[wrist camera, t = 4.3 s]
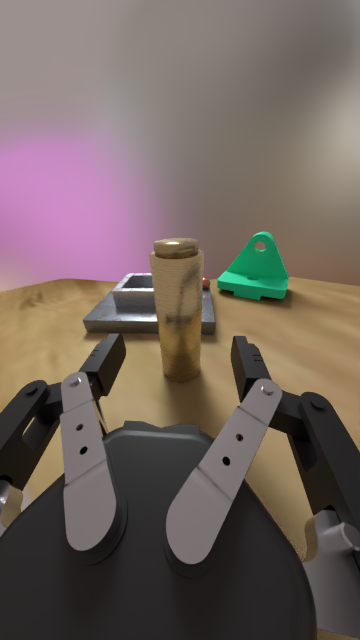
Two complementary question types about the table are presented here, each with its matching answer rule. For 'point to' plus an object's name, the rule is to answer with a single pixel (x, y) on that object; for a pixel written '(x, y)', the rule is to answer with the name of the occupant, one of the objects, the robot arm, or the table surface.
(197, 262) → the brass cylinder peg
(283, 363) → the table surface
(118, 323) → the dock
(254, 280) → the camera mount
